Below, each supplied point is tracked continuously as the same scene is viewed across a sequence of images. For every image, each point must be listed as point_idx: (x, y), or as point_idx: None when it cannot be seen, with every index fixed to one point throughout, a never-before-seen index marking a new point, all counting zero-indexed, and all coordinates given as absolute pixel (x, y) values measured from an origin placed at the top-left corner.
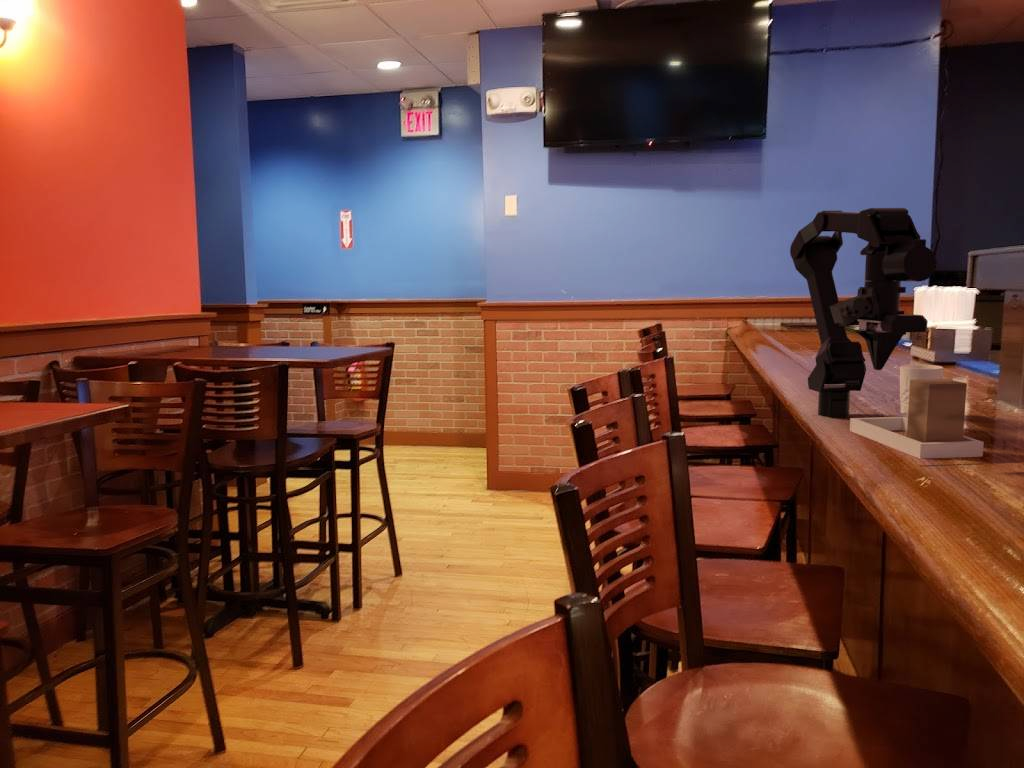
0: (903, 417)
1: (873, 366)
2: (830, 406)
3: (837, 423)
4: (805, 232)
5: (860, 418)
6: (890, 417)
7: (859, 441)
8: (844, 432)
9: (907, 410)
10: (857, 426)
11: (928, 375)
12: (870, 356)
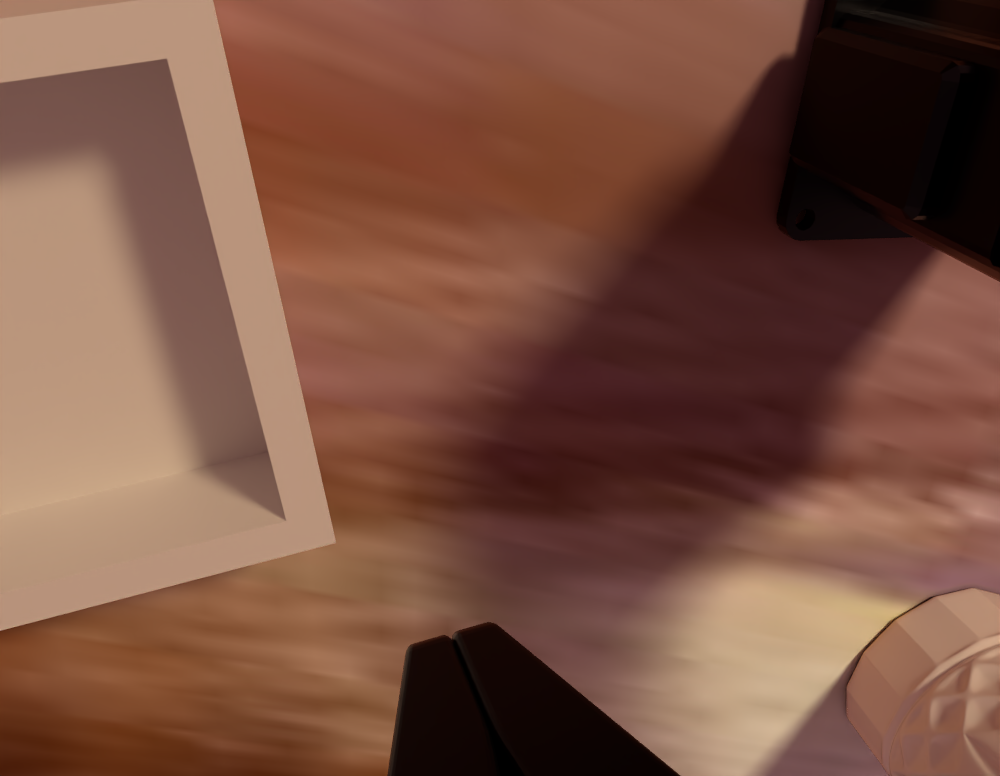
0: (296, 529)
1: (502, 647)
2: (934, 42)
3: None
4: None
5: (212, 114)
6: (292, 428)
7: None
8: (468, 16)
9: (938, 631)
10: (28, 6)
11: None
12: (649, 763)
